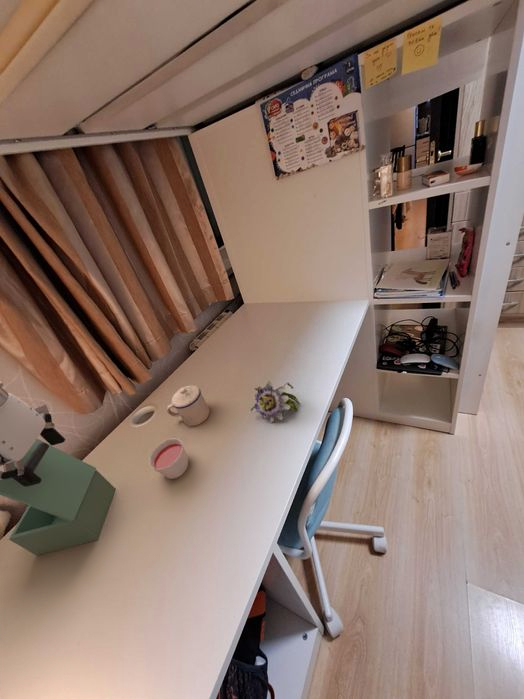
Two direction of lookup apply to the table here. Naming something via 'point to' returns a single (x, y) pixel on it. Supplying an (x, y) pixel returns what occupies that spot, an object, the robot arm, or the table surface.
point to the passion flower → (273, 401)
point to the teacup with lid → (189, 405)
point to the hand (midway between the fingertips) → (47, 461)
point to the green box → (65, 522)
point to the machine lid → (51, 481)
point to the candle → (169, 458)
